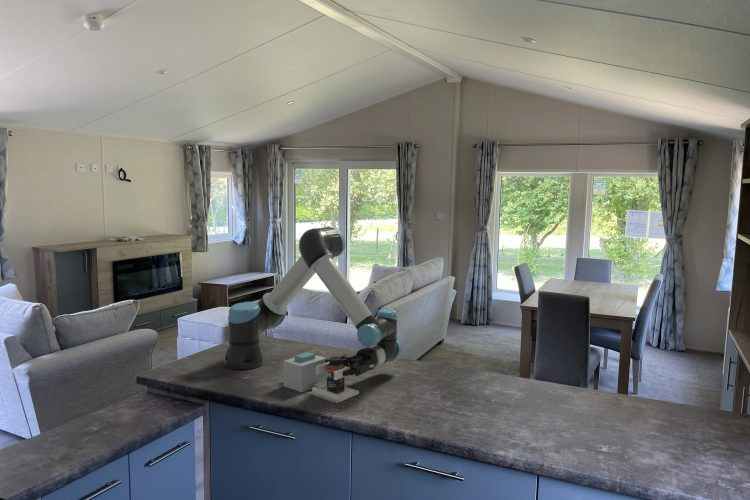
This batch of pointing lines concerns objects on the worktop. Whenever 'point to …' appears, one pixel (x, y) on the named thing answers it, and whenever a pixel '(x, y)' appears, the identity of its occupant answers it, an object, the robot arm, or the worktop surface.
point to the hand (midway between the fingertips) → (325, 373)
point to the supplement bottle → (332, 384)
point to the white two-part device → (311, 377)
